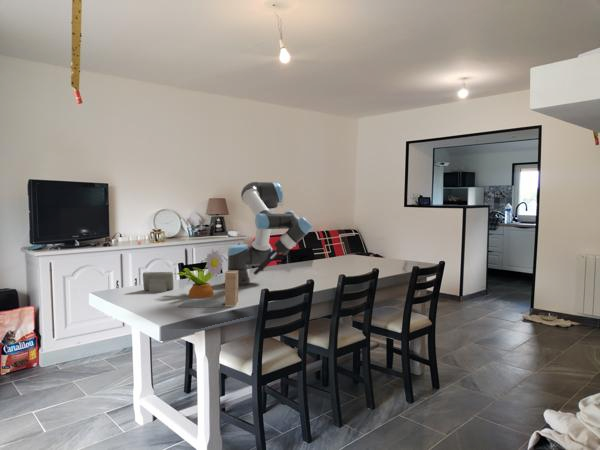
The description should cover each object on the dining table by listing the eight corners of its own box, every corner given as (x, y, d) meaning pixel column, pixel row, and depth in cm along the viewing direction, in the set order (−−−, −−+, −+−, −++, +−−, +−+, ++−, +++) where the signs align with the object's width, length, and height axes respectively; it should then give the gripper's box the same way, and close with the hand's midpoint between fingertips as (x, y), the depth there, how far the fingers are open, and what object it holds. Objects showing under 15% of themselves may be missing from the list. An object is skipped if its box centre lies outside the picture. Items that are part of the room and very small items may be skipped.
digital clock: (175, 289, 241) (175, 270, 240) (169, 292, 232) (169, 273, 231) (146, 288, 241) (146, 270, 240) (140, 292, 232) (140, 272, 231)
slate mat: (186, 300, 214) (186, 299, 214) (225, 301, 214) (225, 300, 214) (178, 307, 201) (178, 306, 201) (220, 307, 201) (220, 307, 201)
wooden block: (227, 302, 211) (228, 270, 210) (238, 302, 211) (238, 270, 210) (225, 306, 204) (225, 272, 203) (235, 306, 204) (235, 273, 203)
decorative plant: (200, 302, 210) (201, 252, 209) (165, 296, 222) (165, 248, 221) (234, 292, 234) (235, 247, 232) (201, 287, 246) (201, 244, 244)
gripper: (289, 251, 199) (253, 286, 200) (290, 248, 212) (257, 281, 213) (278, 239, 198) (242, 274, 200) (280, 237, 211) (246, 270, 213)
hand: (249, 278), depth 206 cm, fingers closed
